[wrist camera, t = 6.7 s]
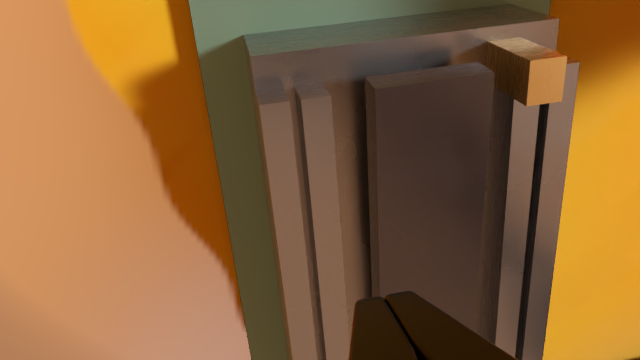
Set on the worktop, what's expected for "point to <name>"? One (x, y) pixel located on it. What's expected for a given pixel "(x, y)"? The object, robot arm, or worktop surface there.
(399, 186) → the dark brown flat bar
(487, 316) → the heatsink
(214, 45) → the board
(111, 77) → the worktop surface
